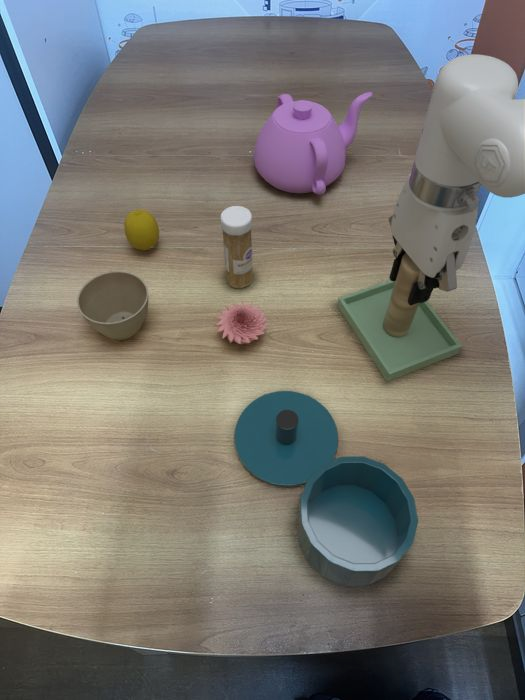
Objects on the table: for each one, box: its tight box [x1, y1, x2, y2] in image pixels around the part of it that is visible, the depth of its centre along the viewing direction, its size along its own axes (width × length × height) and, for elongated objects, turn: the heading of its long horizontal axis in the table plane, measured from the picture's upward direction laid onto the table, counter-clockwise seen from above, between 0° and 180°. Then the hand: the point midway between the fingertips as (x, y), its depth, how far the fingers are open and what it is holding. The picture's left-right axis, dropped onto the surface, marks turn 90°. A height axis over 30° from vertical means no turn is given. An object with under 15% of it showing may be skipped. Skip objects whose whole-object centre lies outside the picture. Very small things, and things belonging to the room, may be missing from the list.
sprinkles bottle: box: [220, 205, 254, 289], centre depth 83 cm, size 5×5×14 cm
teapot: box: [253, 91, 373, 196], centre depth 99 cm, size 22×22×14 cm
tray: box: [336, 279, 463, 382], centre depth 81 cm, size 15×12×2 cm
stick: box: [383, 253, 420, 337], centre depth 76 cm, size 4×4×14 cm
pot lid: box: [234, 390, 339, 487], centre depth 69 cm, size 14×14×6 cm
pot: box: [296, 455, 419, 588], centre depth 62 cm, size 13×13×8 cm
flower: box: [213, 300, 269, 345], centre depth 79 cm, size 8×8×6 cm
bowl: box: [76, 270, 149, 341], centre depth 80 cm, size 10×10×7 cm
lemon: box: [123, 209, 160, 251], centre depth 89 cm, size 6×6×8 cm
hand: (409, 288), depth 75 cm, fingers closed on stick, 4 cm apart
